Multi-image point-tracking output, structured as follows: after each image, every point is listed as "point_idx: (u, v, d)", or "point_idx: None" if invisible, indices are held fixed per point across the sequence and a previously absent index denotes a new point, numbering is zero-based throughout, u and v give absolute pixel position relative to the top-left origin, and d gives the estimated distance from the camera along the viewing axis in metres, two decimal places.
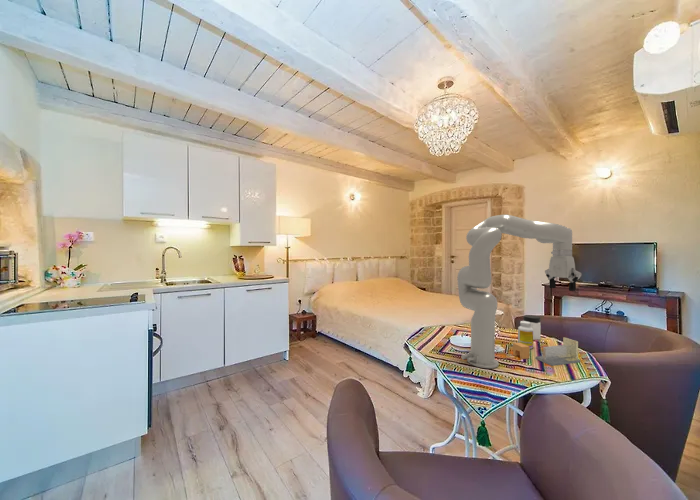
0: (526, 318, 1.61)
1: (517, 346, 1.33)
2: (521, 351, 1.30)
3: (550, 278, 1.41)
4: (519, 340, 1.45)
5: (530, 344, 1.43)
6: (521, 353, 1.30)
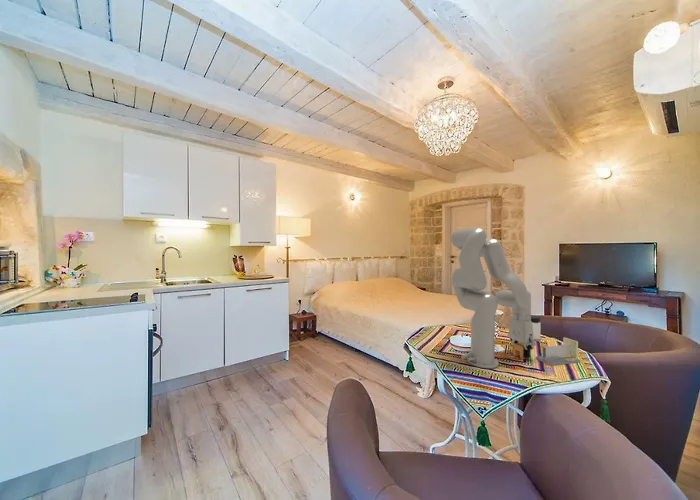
0: None
1: (517, 346, 1.33)
2: (521, 351, 1.30)
3: (513, 342, 1.36)
4: None
5: None
6: (521, 353, 1.30)
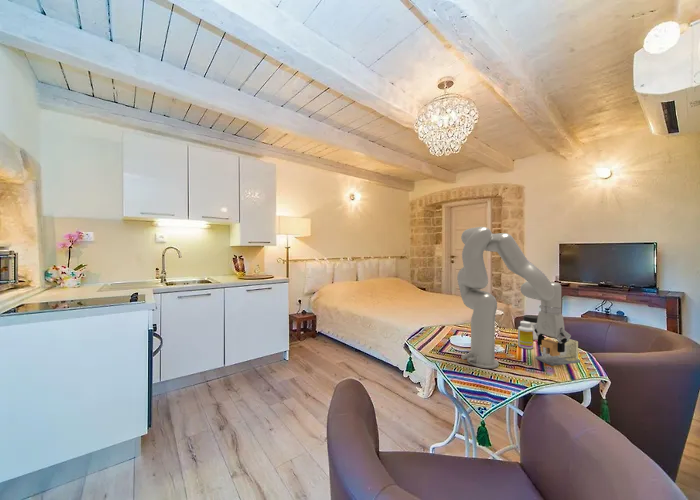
0: (526, 318, 1.61)
1: (546, 343, 1.27)
2: (551, 348, 1.25)
3: (538, 334, 1.31)
4: (519, 340, 1.45)
5: (530, 344, 1.43)
6: (551, 350, 1.25)
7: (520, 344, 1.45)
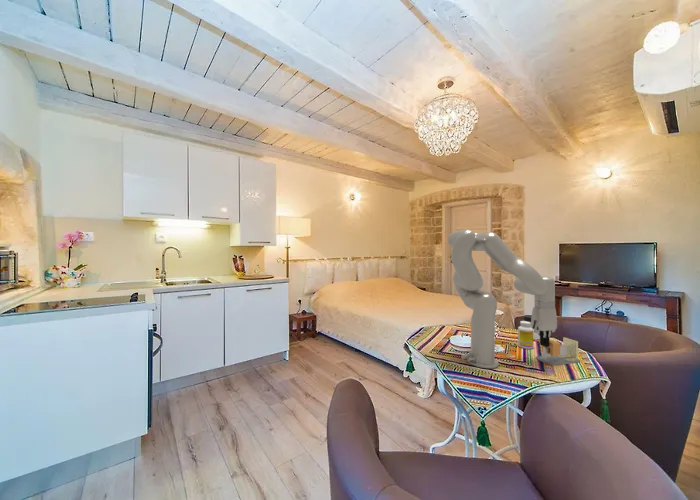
0: (526, 318, 1.61)
1: None
2: (551, 348, 1.25)
3: None
4: (519, 340, 1.46)
5: (530, 344, 1.43)
6: (552, 350, 1.25)
7: (520, 344, 1.45)
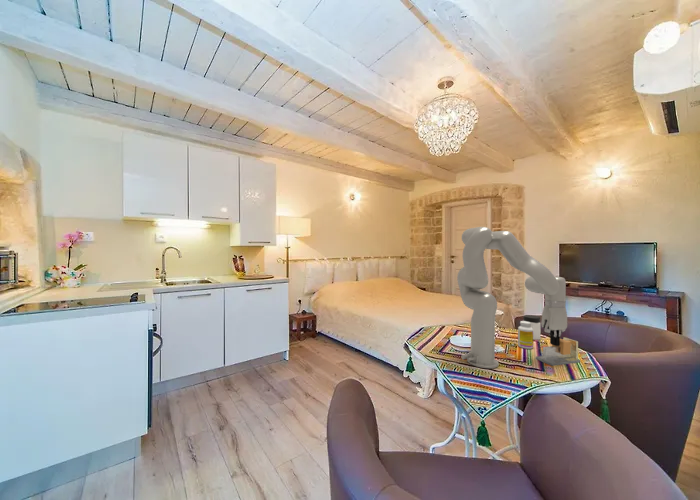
0: (526, 318, 1.61)
1: None
2: (562, 347, 1.26)
3: None
4: (519, 340, 1.46)
5: (530, 344, 1.43)
6: (562, 349, 1.26)
7: (520, 344, 1.45)
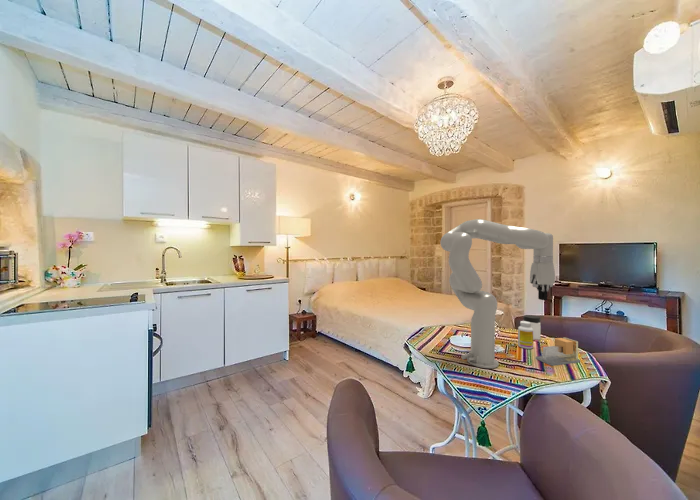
0: (526, 318, 1.61)
1: (559, 341, 1.29)
2: (564, 346, 1.27)
3: None
4: (519, 340, 1.46)
5: (530, 344, 1.43)
6: (565, 349, 1.27)
7: (520, 344, 1.45)
